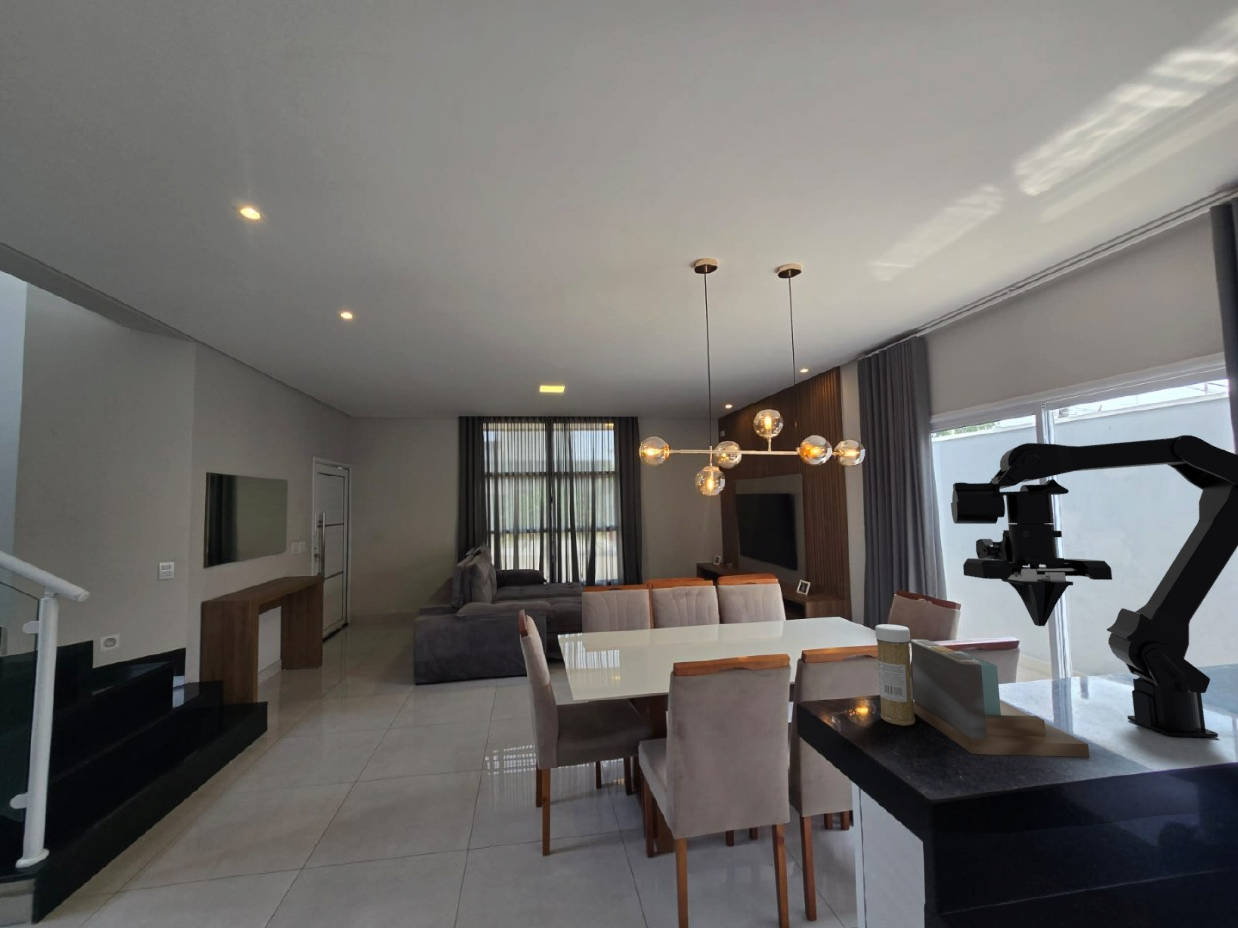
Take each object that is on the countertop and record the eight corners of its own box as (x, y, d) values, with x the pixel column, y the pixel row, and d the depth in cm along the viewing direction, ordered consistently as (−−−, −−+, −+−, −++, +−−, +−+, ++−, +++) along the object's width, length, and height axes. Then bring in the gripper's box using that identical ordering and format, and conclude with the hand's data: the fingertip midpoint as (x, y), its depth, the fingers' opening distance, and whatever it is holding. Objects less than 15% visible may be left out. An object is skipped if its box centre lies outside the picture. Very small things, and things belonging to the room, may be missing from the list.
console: (1002, 710, 80) (996, 637, 82) (1089, 756, 65) (1080, 665, 66) (908, 709, 81) (904, 636, 82) (972, 753, 65) (965, 663, 67)
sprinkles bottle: (921, 722, 76) (915, 626, 77) (904, 729, 73) (898, 630, 75) (890, 712, 80) (885, 622, 81) (873, 718, 77) (868, 625, 79)
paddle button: (965, 707, 77) (961, 651, 78) (1002, 728, 69) (997, 665, 70) (944, 706, 77) (940, 651, 78) (978, 727, 69) (973, 665, 70)
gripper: (1052, 524, 90) (1061, 617, 88) (941, 523, 91) (947, 616, 89) (1109, 524, 79) (1121, 630, 77) (981, 523, 80) (990, 629, 78)
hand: (1039, 625), depth 81 cm, fingers closed
